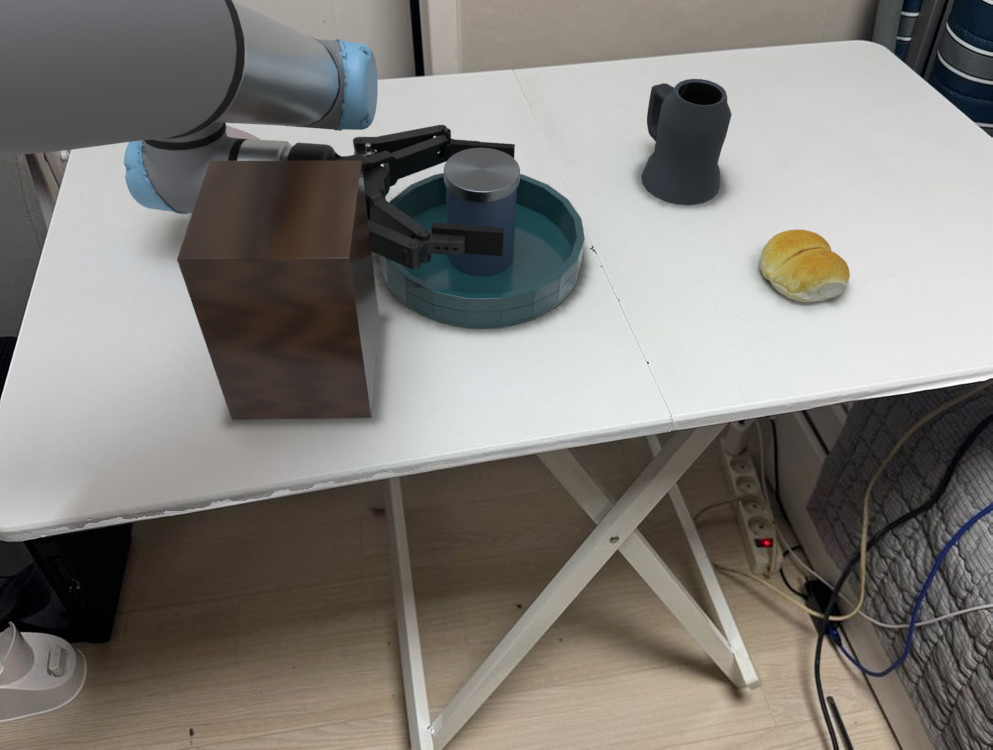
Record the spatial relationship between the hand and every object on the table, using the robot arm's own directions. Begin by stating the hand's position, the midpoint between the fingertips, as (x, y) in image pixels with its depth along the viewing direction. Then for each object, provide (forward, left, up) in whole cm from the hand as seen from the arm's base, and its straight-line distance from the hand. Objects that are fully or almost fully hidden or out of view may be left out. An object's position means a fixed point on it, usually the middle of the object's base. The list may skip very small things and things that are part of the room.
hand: (509, 197), depth 80 cm
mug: (+20, +15, -8) cm, 27 cm away
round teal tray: (-3, 0, -8) cm, 8 cm away
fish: (-33, +19, -8) cm, 39 cm away
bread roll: (+30, -3, -8) cm, 32 cm away
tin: (-3, 0, -7) cm, 8 cm away
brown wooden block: (-19, -15, -8) cm, 25 cm away
